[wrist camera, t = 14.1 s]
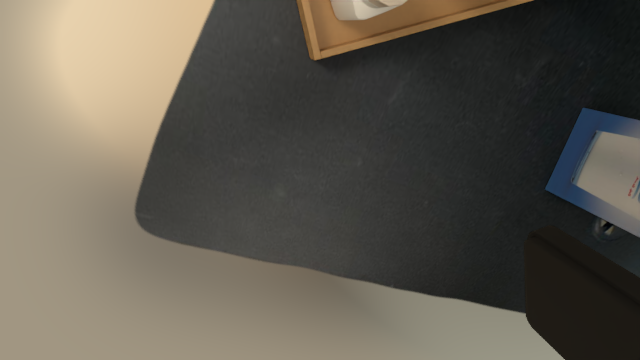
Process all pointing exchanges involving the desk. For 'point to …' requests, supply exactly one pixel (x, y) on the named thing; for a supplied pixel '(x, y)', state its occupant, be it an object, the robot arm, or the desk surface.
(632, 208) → the milk carton
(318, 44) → the tray
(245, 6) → the desk surface
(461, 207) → the desk surface
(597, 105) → the desk surface
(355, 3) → the pepper shaker
